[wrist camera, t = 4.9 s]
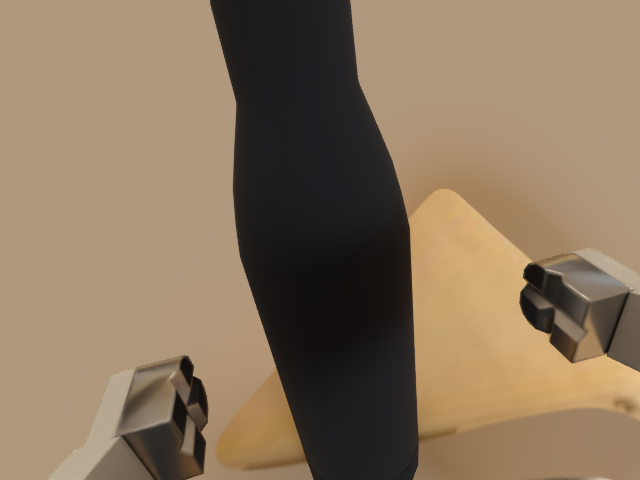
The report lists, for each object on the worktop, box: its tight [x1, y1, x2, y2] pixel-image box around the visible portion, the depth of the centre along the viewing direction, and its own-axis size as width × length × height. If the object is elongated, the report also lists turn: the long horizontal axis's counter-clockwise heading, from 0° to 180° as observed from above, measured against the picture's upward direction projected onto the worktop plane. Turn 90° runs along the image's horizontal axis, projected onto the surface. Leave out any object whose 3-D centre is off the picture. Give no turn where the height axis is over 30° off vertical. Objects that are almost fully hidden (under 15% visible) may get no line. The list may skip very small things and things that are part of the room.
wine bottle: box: [210, 0, 418, 480], centre depth 13 cm, size 6×6×30 cm
